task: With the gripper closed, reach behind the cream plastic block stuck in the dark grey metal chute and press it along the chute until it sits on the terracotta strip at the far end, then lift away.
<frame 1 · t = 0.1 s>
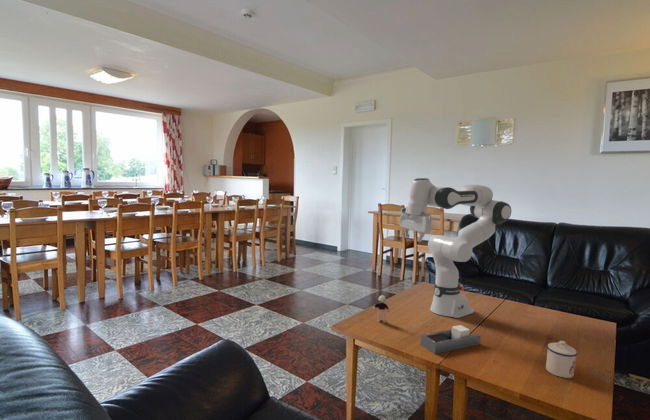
hand: (412, 239, 174), 39 cm above the table, tool pointing down, fingers open, 8 cm apart
jammed block: (460, 333, 152), point 4 cm above the table, slide at 0.0 cm
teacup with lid: (559, 370, 133), on the table
chute: (450, 344, 151), on the table
grandmother figurine: (380, 321, 172), on the table
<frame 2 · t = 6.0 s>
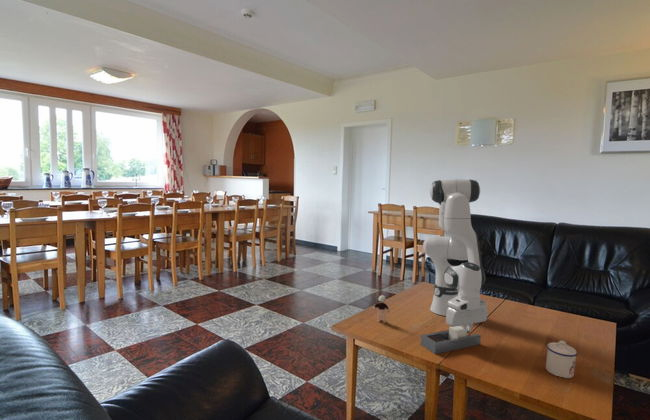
hand: (465, 333, 153), 4 cm above the table, tool pointing down, fingers closed
jammed block: (457, 334, 152), point 4 cm above the table, slide at 1.4 cm, touching gripper
everything else where it was.
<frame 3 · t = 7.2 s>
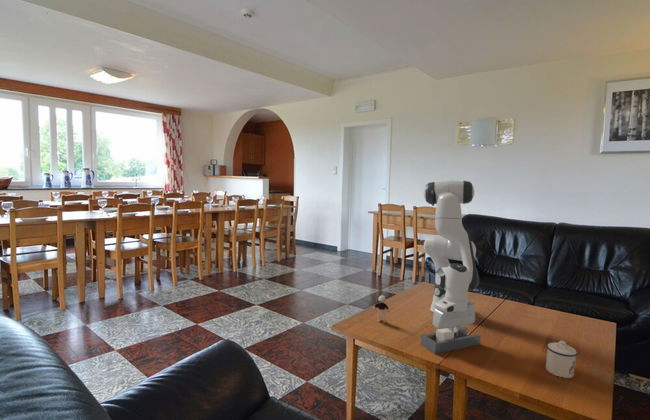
hand: (453, 335, 150), 4 cm above the table, tool pointing down, fingers closed
jammed block: (444, 336, 149), point 4 cm above the table, slide at 8.4 cm, touching gripper
everything else where it was.
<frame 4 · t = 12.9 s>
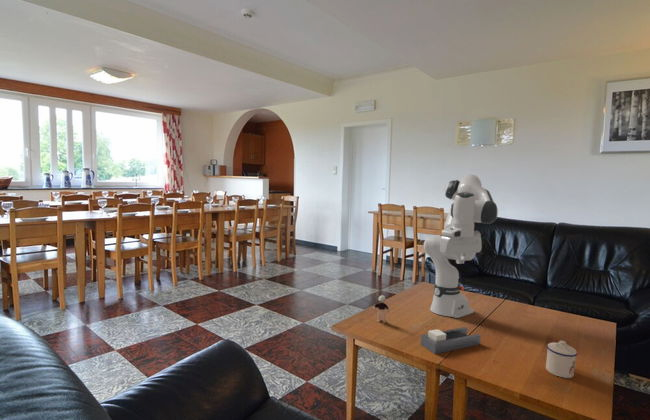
hand: (460, 263, 153), 33 cm above the table, tool pointing down, fingers closed
jammed block: (436, 338, 147), point 4 cm above the table, slide at 12.5 cm
everything else where it was.
at the end: jammed block slide at 12.5 cm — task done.
